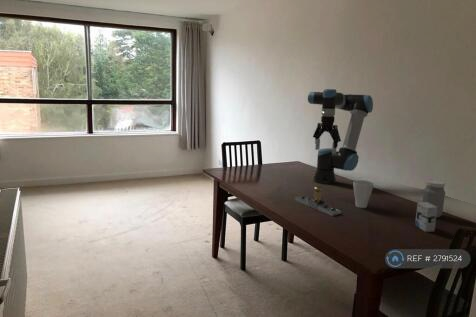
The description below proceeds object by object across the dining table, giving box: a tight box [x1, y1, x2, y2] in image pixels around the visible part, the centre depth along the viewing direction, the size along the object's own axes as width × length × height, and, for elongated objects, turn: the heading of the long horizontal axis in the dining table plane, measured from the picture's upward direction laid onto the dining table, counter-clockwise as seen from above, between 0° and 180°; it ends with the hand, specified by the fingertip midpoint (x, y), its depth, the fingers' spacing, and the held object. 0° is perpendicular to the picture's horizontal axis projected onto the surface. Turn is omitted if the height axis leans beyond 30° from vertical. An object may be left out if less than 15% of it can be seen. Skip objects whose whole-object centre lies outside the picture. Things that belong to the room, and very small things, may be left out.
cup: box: [352, 180, 375, 209], centre depth 197 cm, size 10×10×14 cm
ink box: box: [414, 201, 438, 233], centre depth 168 cm, size 8×5×12 cm, turn 5°
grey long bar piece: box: [294, 195, 342, 217], centre depth 195 cm, size 29×7×4 cm, turn 32°
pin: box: [312, 185, 323, 205], centre depth 194 cm, size 5×5×11 cm
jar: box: [421, 179, 446, 219], centre depth 185 cm, size 10×10×18 cm
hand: (325, 151), depth 214 cm, fingers open, 13 cm apart
